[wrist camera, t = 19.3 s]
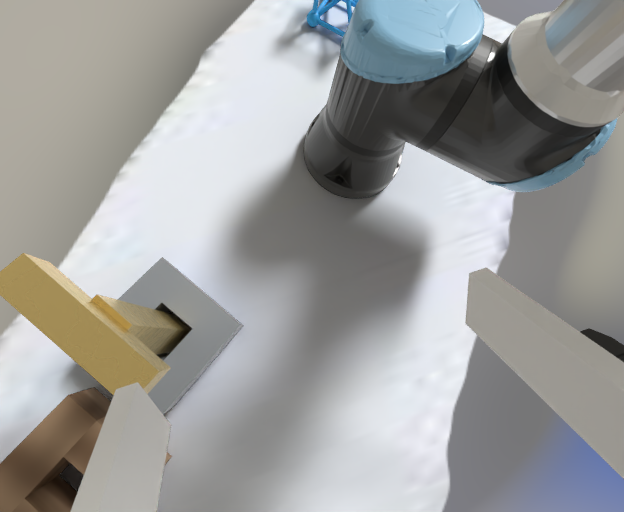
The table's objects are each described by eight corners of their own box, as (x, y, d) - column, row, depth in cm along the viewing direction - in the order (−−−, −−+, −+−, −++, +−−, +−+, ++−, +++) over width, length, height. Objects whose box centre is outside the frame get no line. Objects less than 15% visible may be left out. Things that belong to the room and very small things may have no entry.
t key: (151, 294, 39) (29, 248, 19) (216, 350, 39) (164, 366, 18) (131, 314, 38) (-20, 288, 18) (198, 372, 38) (121, 413, 17)
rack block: (174, 266, 40) (162, 257, 36) (243, 325, 40) (240, 323, 35) (99, 340, 37) (74, 340, 32) (174, 406, 36) (160, 416, 32)
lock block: (94, 387, 36) (68, 395, 31) (171, 456, 35) (157, 474, 30) (-1, 485, 32) (-47, 511, 27) (84, 563, 32) (52, 603, 27)
